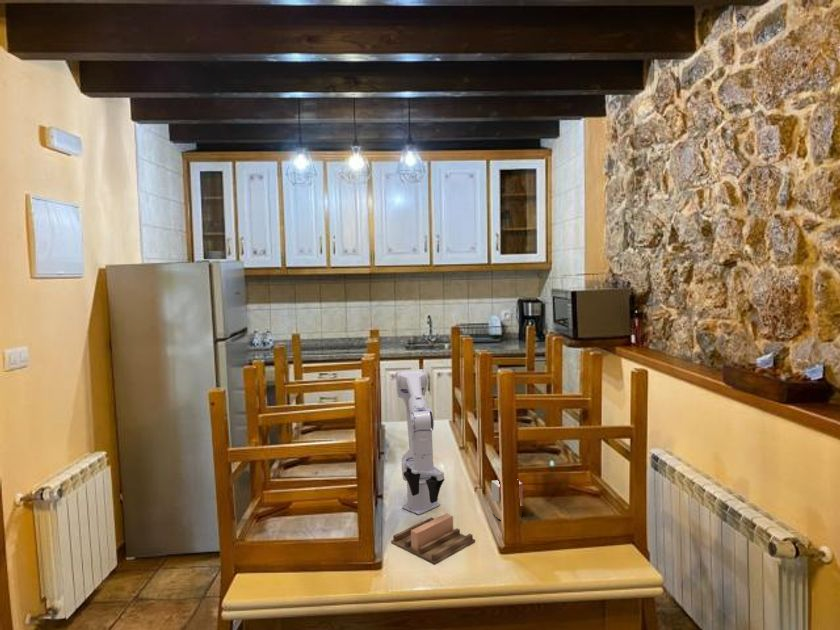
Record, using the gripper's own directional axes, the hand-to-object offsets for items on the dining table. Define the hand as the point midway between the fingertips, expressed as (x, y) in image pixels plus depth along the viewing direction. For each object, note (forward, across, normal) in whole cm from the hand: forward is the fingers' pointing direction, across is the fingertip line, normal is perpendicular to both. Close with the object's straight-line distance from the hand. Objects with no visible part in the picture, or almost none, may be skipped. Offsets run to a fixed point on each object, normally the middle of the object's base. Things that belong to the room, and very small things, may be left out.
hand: (424, 498), depth 164 cm
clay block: (+9, +7, -4) cm, 12 cm away
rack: (+9, +7, -4) cm, 12 cm away
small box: (+10, +12, +23) cm, 28 cm away
